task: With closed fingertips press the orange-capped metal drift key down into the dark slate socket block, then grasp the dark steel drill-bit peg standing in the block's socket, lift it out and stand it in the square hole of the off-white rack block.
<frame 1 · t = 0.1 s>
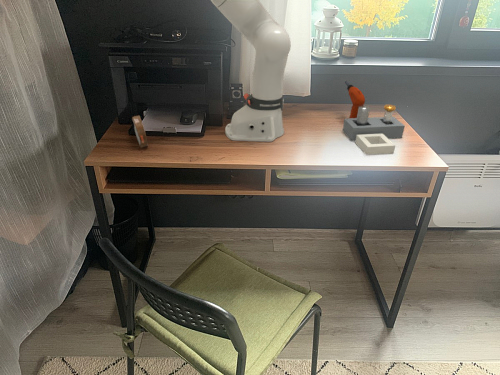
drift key: (387, 117, 142), point 7 cm above the table, slide at 0.0 cm
toy drill: (348, 121, 156), on the table
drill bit: (359, 135, 144), resting in socket block
socket block: (371, 134, 145), on the table
tin: (141, 142, 136), on the table
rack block: (373, 147, 135), on the table
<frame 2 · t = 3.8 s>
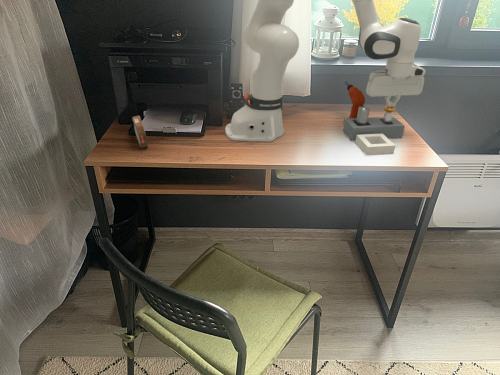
hand: (390, 106, 140), 11 cm above the table, fingers closed, pressing on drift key
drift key: (387, 118, 142), point 6 cm above the table, slide at -0.3 cm, touching gripper
everything else where it was.
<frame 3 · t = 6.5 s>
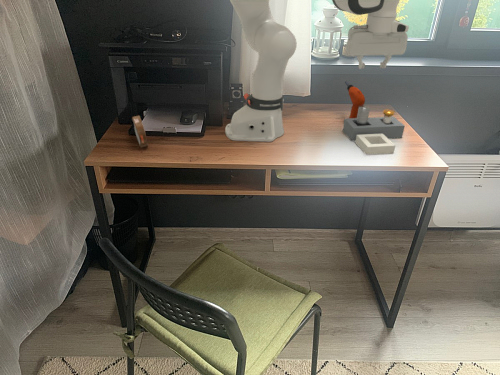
hand: (371, 68, 131), 25 cm above the table, fingers open, 6 cm apart
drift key: (386, 122, 143), point 5 cm above the table, slide at -1.8 cm
everything else where it was.
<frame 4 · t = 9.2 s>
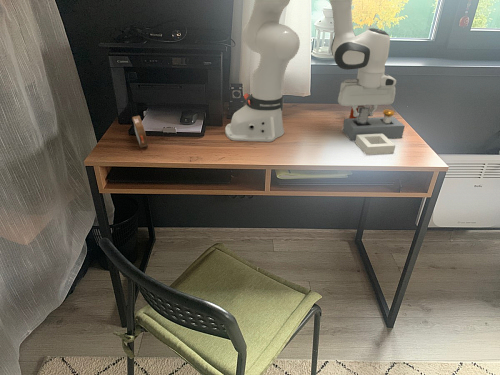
hand: (362, 116, 140), 8 cm above the table, fingers closed on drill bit, 4 cm apart
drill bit: (359, 134, 144), resting in socket block, touching gripper
everything else where it was.
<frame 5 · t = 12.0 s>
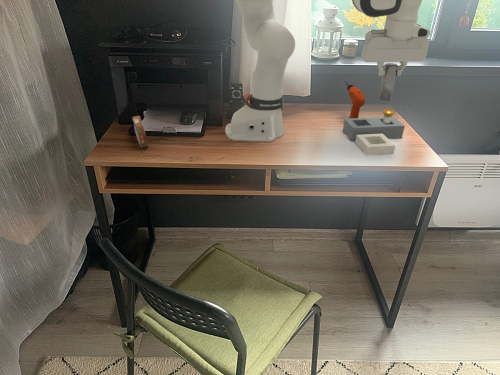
hand: (389, 75, 121), 26 cm above the table, fingers closed on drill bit, 4 cm apart
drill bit: (385, 98, 125), point 18 cm above the table, touching gripper
everything else where it was.
when the fingers open (8 cm above the table, at t = 15.4 s): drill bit stays where it is, resting in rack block.
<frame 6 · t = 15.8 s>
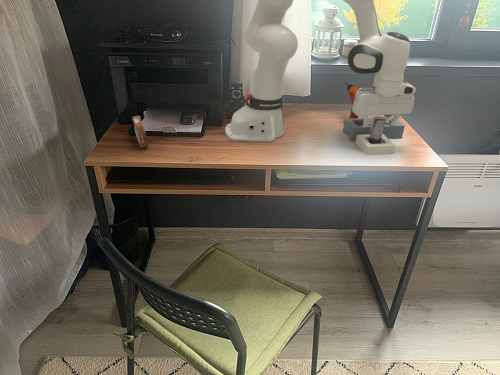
hand: (378, 126, 131), 8 cm above the table, fingers open, 8 cm apart
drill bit: (373, 147, 135), resting in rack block
everything else where it was.
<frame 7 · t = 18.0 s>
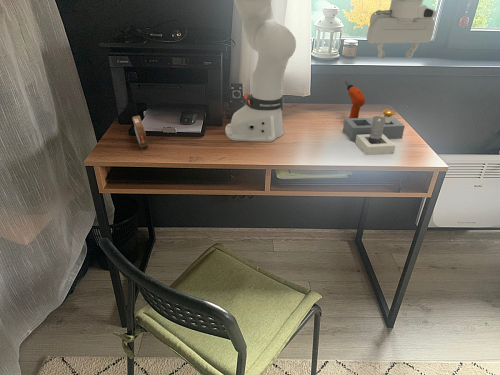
hand: (394, 57, 121), 31 cm above the table, fingers open, 8 cm apart
nothing on the table moved.
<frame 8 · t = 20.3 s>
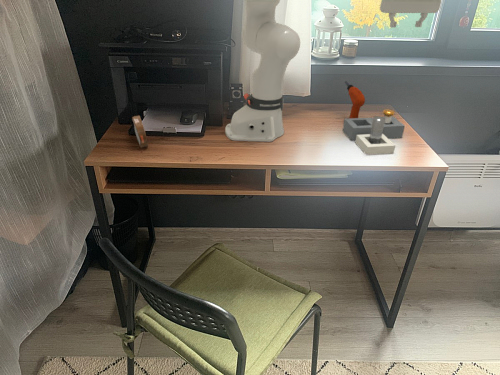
hand: (405, 27, 132), 37 cm above the table, fingers open, 8 cm apart
nothing on the table moved.
at the end: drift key slide at -1.8 cm; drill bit 0.2 cm off-centre on the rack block, point 0.0 cm above the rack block's base; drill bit tilted 1° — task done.
